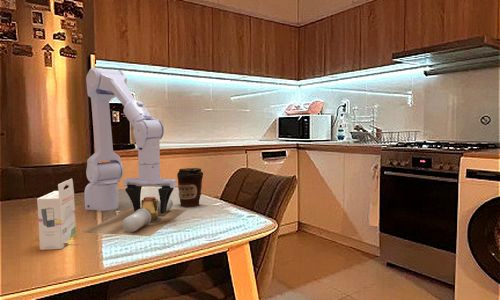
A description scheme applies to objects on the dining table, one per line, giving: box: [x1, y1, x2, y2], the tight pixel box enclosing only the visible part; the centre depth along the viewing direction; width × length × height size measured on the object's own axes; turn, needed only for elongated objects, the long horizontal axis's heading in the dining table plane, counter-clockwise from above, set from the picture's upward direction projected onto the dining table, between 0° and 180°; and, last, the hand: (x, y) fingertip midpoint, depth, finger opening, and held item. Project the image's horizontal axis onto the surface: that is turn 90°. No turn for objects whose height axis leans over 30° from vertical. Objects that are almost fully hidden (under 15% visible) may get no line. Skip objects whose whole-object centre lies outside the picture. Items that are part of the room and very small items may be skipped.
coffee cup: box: [176, 167, 204, 208], centre depth 118 cm, size 9×8×13 cm
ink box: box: [36, 178, 77, 251], centre depth 84 cm, size 9×5×15 cm, turn 5°
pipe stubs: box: [122, 197, 174, 233], centre depth 101 cm, size 5×23×5 cm, turn 170°
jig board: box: [82, 207, 187, 237], centre depth 102 cm, size 18×26×1 cm
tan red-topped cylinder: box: [140, 196, 159, 222], centre depth 100 cm, size 4×4×6 cm
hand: (150, 212), depth 101 cm, fingers open, 7 cm apart
